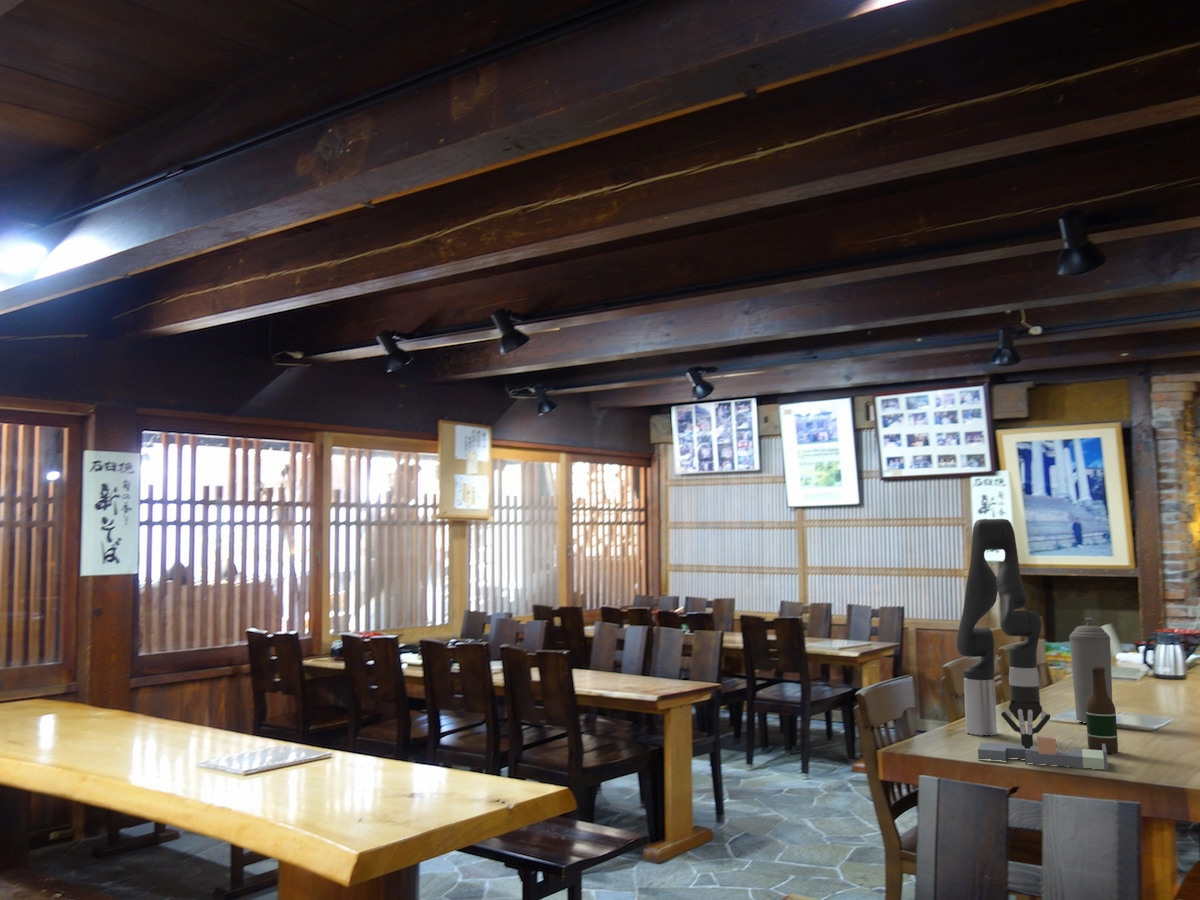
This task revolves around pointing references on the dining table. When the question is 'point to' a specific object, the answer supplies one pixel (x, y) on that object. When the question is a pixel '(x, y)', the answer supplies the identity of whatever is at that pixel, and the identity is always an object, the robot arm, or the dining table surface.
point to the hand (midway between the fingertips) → (1027, 748)
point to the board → (1045, 755)
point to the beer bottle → (1101, 715)
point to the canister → (1088, 662)
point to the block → (1046, 745)
